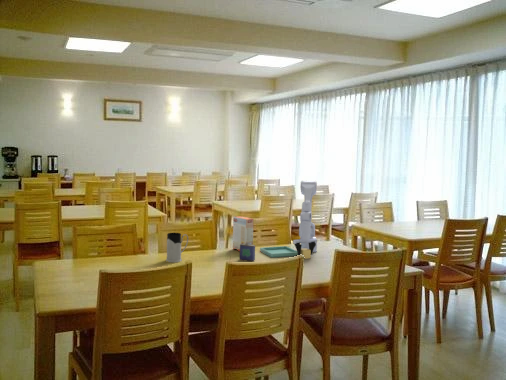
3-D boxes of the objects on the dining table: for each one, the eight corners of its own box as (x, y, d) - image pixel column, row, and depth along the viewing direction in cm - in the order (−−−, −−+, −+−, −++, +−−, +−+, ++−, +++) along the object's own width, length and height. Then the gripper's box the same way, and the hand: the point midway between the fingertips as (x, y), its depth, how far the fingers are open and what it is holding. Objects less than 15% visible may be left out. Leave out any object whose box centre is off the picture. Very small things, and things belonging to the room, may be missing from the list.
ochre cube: (306, 256, 273) (306, 248, 273) (310, 258, 268) (310, 250, 268) (298, 257, 271) (299, 248, 271) (302, 258, 267) (303, 250, 266)
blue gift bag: (255, 260, 260) (255, 241, 259) (253, 261, 257) (253, 242, 256) (240, 258, 263) (240, 240, 262) (238, 260, 260) (238, 241, 259)
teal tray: (286, 249, 291) (286, 246, 291) (299, 255, 274) (299, 252, 274) (260, 251, 284) (260, 247, 284) (271, 257, 268) (271, 253, 267)
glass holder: (162, 260, 256) (162, 233, 254) (182, 256, 266) (183, 230, 265) (172, 263, 250) (172, 235, 248) (192, 259, 260) (192, 232, 259)
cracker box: (253, 252, 281) (254, 218, 279) (245, 253, 277) (245, 219, 275) (240, 248, 292) (241, 215, 290) (232, 249, 288) (233, 216, 287)
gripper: (297, 234, 262) (296, 257, 263) (319, 232, 267) (319, 255, 269) (292, 231, 269) (291, 254, 270) (313, 230, 274) (313, 253, 275)
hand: (304, 255), depth 270 cm, fingers open, 7 cm apart
